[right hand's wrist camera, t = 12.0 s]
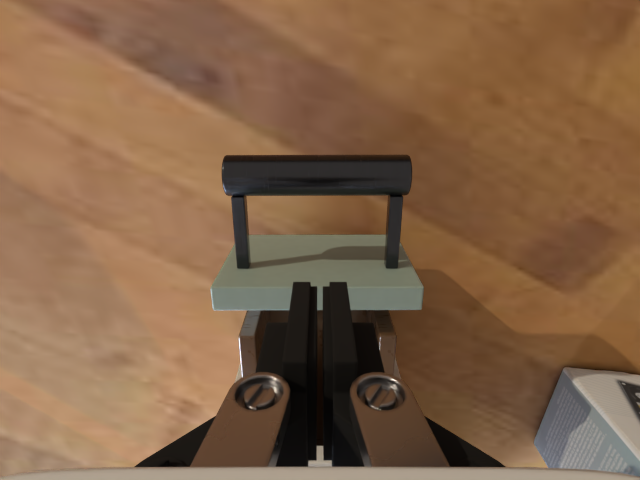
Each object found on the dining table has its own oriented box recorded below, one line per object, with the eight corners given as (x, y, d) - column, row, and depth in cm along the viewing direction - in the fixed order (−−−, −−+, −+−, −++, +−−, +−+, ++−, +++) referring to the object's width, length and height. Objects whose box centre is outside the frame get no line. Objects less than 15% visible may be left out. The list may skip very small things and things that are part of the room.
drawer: (232, 142, 22) (196, 164, 16) (403, 142, 22) (436, 163, 16) (254, 433, 30) (236, 529, 23) (382, 433, 30) (400, 529, 23)
